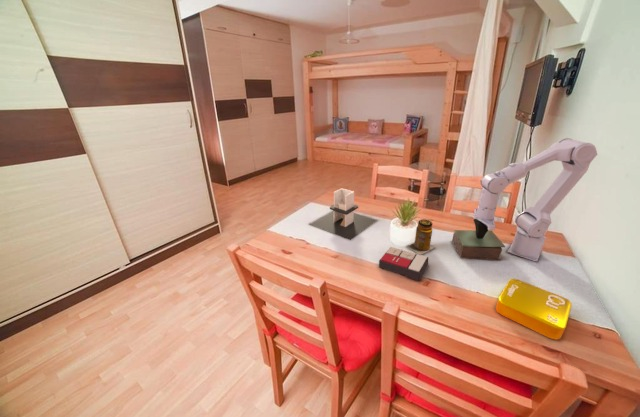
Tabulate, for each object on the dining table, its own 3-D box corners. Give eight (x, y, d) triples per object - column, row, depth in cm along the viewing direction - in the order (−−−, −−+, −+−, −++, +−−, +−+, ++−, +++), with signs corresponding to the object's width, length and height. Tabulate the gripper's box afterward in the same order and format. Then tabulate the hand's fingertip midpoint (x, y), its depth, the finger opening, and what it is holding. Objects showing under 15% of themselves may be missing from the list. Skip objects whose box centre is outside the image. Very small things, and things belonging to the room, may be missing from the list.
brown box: (486, 244, 110) (489, 233, 108) (498, 260, 100) (502, 248, 97) (451, 242, 112) (453, 231, 110) (460, 258, 102) (462, 246, 100)
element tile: (507, 286, 87) (511, 275, 85) (567, 311, 76) (573, 298, 74) (493, 311, 77) (497, 299, 75) (559, 343, 67) (565, 330, 65)
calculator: (390, 245, 105) (429, 255, 96) (389, 254, 107) (428, 265, 98) (378, 259, 97) (420, 271, 88) (378, 268, 99) (419, 281, 90)
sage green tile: (491, 231, 107) (491, 230, 107) (504, 247, 97) (505, 246, 97) (453, 231, 110) (454, 230, 110) (462, 246, 100) (463, 245, 99)
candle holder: (309, 224, 132) (307, 194, 125) (338, 208, 148) (337, 180, 142) (350, 240, 117) (350, 206, 110) (377, 220, 133) (379, 190, 127)
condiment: (433, 248, 108) (438, 222, 104) (420, 255, 104) (424, 228, 99) (419, 240, 114) (422, 216, 109) (406, 247, 110) (409, 221, 105)
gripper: (469, 198, 105) (462, 228, 110) (483, 214, 92) (475, 246, 97) (488, 198, 103) (480, 229, 109) (505, 214, 90) (495, 248, 96)
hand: (479, 237), depth 103 cm, fingers closed
